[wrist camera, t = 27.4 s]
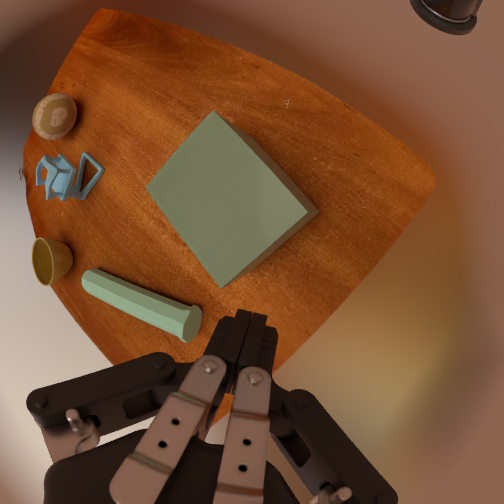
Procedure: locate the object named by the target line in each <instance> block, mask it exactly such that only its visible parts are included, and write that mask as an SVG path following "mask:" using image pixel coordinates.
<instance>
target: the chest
mask: <svg viewBox="0 0 504 504" xmlns="http://www.w3.org/2000/svg"><path fill="white" fill-rule="evenodd" d="M222 118H223V117H222ZM223 119H224V118H223ZM224 120H225V121H226V122H227V123H228V124H229V125H230V126H231V127H232V128H233V129H234V130H235V131H236V132H237V133H238V134H239V135H240V136H241V137H242V138H243V139H244V140H245V141H246V142H247V143H248V144H249V146H250V147H251V148H252V149H253V150H254V151H255V152H256V153H257V154H258V155H259V156H260V157H261V158H262V159H263V160H264V161H265V163H266V164H267V165H268V166H269V167H270V168H271V169H272V170H273V171H274V172H275V173H276V175H277V176H278V177H279V178H280V179H281V180H282V181H283V182H284V183H285V185H286V186H287V187H288V188H289V189H290V190H291V191H292V192H293V194H294V195H295V196H296V197H297V198H298V199H299V200H300V201H301V203H302V204H303V205H304V206H305V207H306V208H307V210H308V211H309V213H308V214H307V215H306V216H305V217H304V218H303V219H302V220H300V221H299V222H298V223H297V224H296V225H295V226H294V227H293V228H291V229H290V230H289V231H288V232H287V233H286V234H285V235H283V236H282V237H281V238H280V239H279V240H278V241H277V242H275V243H274V244H273V245H272V246H271V247H270V248H269V249H267V250H266V251H265V252H264V253H263V254H262V255H261V256H259V257H258V258H257V259H256V260H255V261H254V262H253V263H251V264H250V265H249V266H248V267H247V268H246V269H244V270H243V271H242V272H241V273H240V274H239V275H238V276H236V277H235V278H234V279H233V280H232V281H231V282H230V283H232V282H234V281H236V280H237V279H239V278H241V277H242V276H244V275H246V274H248V273H249V272H251V271H252V270H253V269H255V268H256V267H257V266H258V265H259V264H260V263H262V262H263V261H264V260H265V259H266V258H267V257H268V256H270V255H271V254H272V253H273V252H274V251H275V250H277V249H278V248H279V247H280V246H281V245H282V244H284V243H285V242H286V241H287V240H288V239H289V238H290V237H292V236H293V235H294V234H295V233H296V232H297V231H298V230H300V229H301V228H302V227H303V226H304V225H305V224H307V223H308V222H309V221H310V220H311V219H312V218H313V217H315V216H316V215H317V214H318V213H319V210H318V209H317V208H316V207H315V206H314V205H313V203H312V202H311V201H310V200H309V199H308V198H307V197H306V195H305V194H304V193H303V192H302V191H301V190H300V189H299V188H298V186H297V185H296V184H295V183H294V182H293V181H292V180H291V179H290V178H289V176H288V175H287V174H286V173H285V172H284V171H283V170H282V169H281V168H280V167H279V166H278V164H277V163H276V162H275V161H274V160H273V159H272V158H271V157H270V156H269V155H268V154H267V153H266V152H265V151H264V150H263V149H262V147H261V146H260V145H259V144H258V143H257V142H256V141H255V140H254V139H253V138H252V137H251V136H250V135H249V134H248V133H246V132H245V131H243V130H242V129H240V128H238V127H237V126H235V125H234V124H232V123H231V122H229V121H227V120H226V119H224ZM230 283H228V284H227V285H229V284H230ZM227 285H226V286H227Z"/></svg>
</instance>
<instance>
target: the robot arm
mask: <svg viewBox="0 0 504 504" xmlns="http://www.w3.org/2000/svg"><path fill="white" fill-rule="evenodd" d="M419 1H420V3H421V4H422V6H423V7H424V8H425V9H426V10H427V11H428V12H429V13H431V14H432V15H434V16H435V17H437V18H439V19H441V20H443V21H445V22H448V23H451V24H464V23H466V22H468V21H469V19H470V18H474V17H475V15H476V13H477V11H478V9H479V7H480V5H481V3H482V1H483V0H419ZM251 317H252V319H251ZM266 320H267V315H263V314H259V313H255V312H254V313H253V316H252V312H250V311H246V310H242V309H238V310H237V313H236V315H235V318H233V317H229V316H224V317H223V318H222V319H220V320H219V321H218V324H217V326H216V328H215V330H214V332H213V335H212V337H211V339H210V341H209V343H208V345H207V347H206V350H205V352H204V354H203V356H201V357H199V358H198V359H196V361H195V362H191V363H176V362H175V361H174V359H173V358H172V357H171V356H170V355H168V354H166V353H163V352H154V353H151V354H148V355H145V356H142V357H139V358H136V359H133V360H130V361H127V362H124V363H121V364H118V365H115V366H112V367H109V368H106V369H103V370H100V371H97V372H94V373H90V374H87V375H84V376H81V377H78V378H74V379H71V380H67V381H64V382H61V383H57V384H53V385H50V386H46V387H43V388H39V389H36V390H34V391H32V392H31V393H30V394H29V395H28V397H27V400H26V405H27V408H28V410H29V411H30V413H31V414H32V416H33V417H34V419H35V421H36V423H37V424H38V426H39V427H40V428H41V431H42V434H43V437H44V439H45V443H46V445H47V448H48V451H49V453H50V456H51V459H52V461H53V465H51V466H50V468H49V469H48V471H47V473H46V475H45V479H44V503H43V504H300V503H299V501H298V500H297V498H296V497H295V495H294V494H293V492H292V491H291V489H290V487H289V486H288V484H287V483H286V481H285V480H284V478H283V476H282V475H281V473H280V472H279V471H278V470H277V469H276V468H275V467H274V466H273V465H272V464H271V463H269V462H268V461H266V456H267V446H268V436H269V432H270V434H271V437H272V439H273V440H274V441H275V443H276V445H277V446H278V448H279V449H280V450H281V452H282V453H283V455H284V456H285V458H286V459H287V460H288V462H289V464H290V465H291V466H292V468H293V469H294V471H295V472H296V473H297V475H298V476H299V477H300V479H301V480H302V482H303V483H304V484H305V486H306V487H307V488H308V490H309V491H310V493H311V494H312V495H313V497H312V498H311V500H310V502H309V504H397V502H398V496H397V493H396V492H395V490H394V489H393V488H392V487H391V486H390V485H389V484H388V482H387V481H386V480H385V479H384V478H383V477H382V476H381V475H380V474H379V472H378V471H377V470H376V469H375V468H374V467H373V465H372V464H371V463H370V462H369V461H368V460H367V459H366V457H365V456H364V455H363V454H362V453H361V452H360V451H359V449H358V448H357V447H356V446H355V445H354V443H353V442H352V441H351V440H350V439H349V438H348V437H347V435H346V434H345V433H344V432H343V430H341V428H340V427H339V426H338V424H337V423H336V422H335V421H334V420H333V418H332V417H331V416H330V415H329V414H328V412H327V411H326V410H325V409H324V407H323V406H322V405H321V404H320V403H319V401H318V400H317V399H316V398H315V396H314V395H313V394H311V393H310V392H308V391H305V390H302V389H295V390H292V391H290V392H289V391H287V390H285V389H283V388H281V387H279V386H278V385H277V384H276V383H275V382H274V380H273V378H272V368H273V363H274V357H275V352H276V346H277V341H278V333H277V330H276V328H274V327H270V326H266V325H265V324H266ZM233 382H234V383H233ZM232 385H233V388H232ZM231 388H232V393H231V394H232V395H234V398H233V403H232V407H231V412H230V417H229V422H228V427H227V431H226V436H225V441H224V445H220V444H209V443H206V442H205V438H206V435H207V433H208V431H209V429H210V427H211V425H212V422H213V420H214V418H215V416H216V414H217V411H218V409H219V407H220V404H221V402H222V400H223V397H224V394H225V393H228V394H230V391H231ZM153 416H156V417H155V418H154V420H153V421H152V423H151V424H150V426H149V428H148V429H141V430H137V431H134V432H132V433H130V434H127V435H125V436H123V437H120V438H118V439H115V440H113V441H110V442H108V443H105V444H103V445H100V446H98V447H96V446H97V445H98V444H99V441H100V437H101V436H103V435H106V434H109V433H112V432H115V431H118V430H120V429H123V428H125V427H128V426H131V425H133V424H136V423H138V422H141V421H143V420H146V419H148V418H151V417H153Z"/></svg>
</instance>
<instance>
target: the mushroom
mask: <svg viewBox="0 0 504 504" xmlns="http://www.w3.org/2000/svg"><path fill="white" fill-rule="evenodd" d="M76 118H77V108H76V104H75V102H74V101H73V99H72V98H71V97H69V96H68V95H66V94H63V93H53V94H50V95H48V96H46V97H44V98H43V99H42V100H41V101H40V102H39V103H38V105H37V106H36V108H35V110H34V113H33V127H34V130H35V132H36V133H37V134H38V135H39V136H40V137H42V138H43V139H45V140H56V139H60V138H62V137H63V136H65V135H66V134H67V133H68V132H69V131H70V130H71V129H72V127H73V126H74V124H75V121H76Z"/></svg>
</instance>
